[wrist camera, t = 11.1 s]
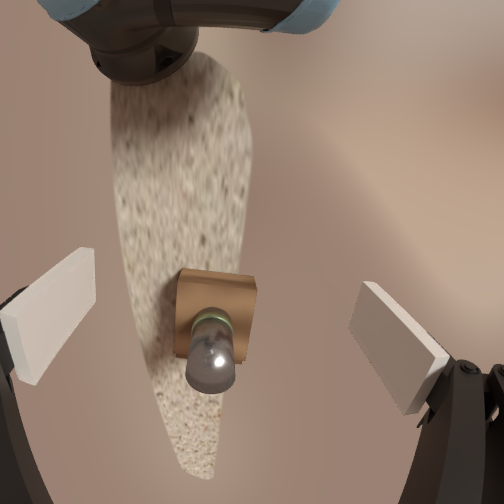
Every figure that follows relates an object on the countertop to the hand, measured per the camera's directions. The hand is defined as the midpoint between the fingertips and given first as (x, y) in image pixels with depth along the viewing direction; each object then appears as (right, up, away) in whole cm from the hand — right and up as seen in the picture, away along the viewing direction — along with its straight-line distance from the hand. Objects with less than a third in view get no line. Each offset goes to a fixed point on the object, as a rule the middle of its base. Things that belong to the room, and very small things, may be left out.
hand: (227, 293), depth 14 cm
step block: (-4, -7, +30) cm, 31 cm away
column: (-4, -8, +25) cm, 26 cm away
